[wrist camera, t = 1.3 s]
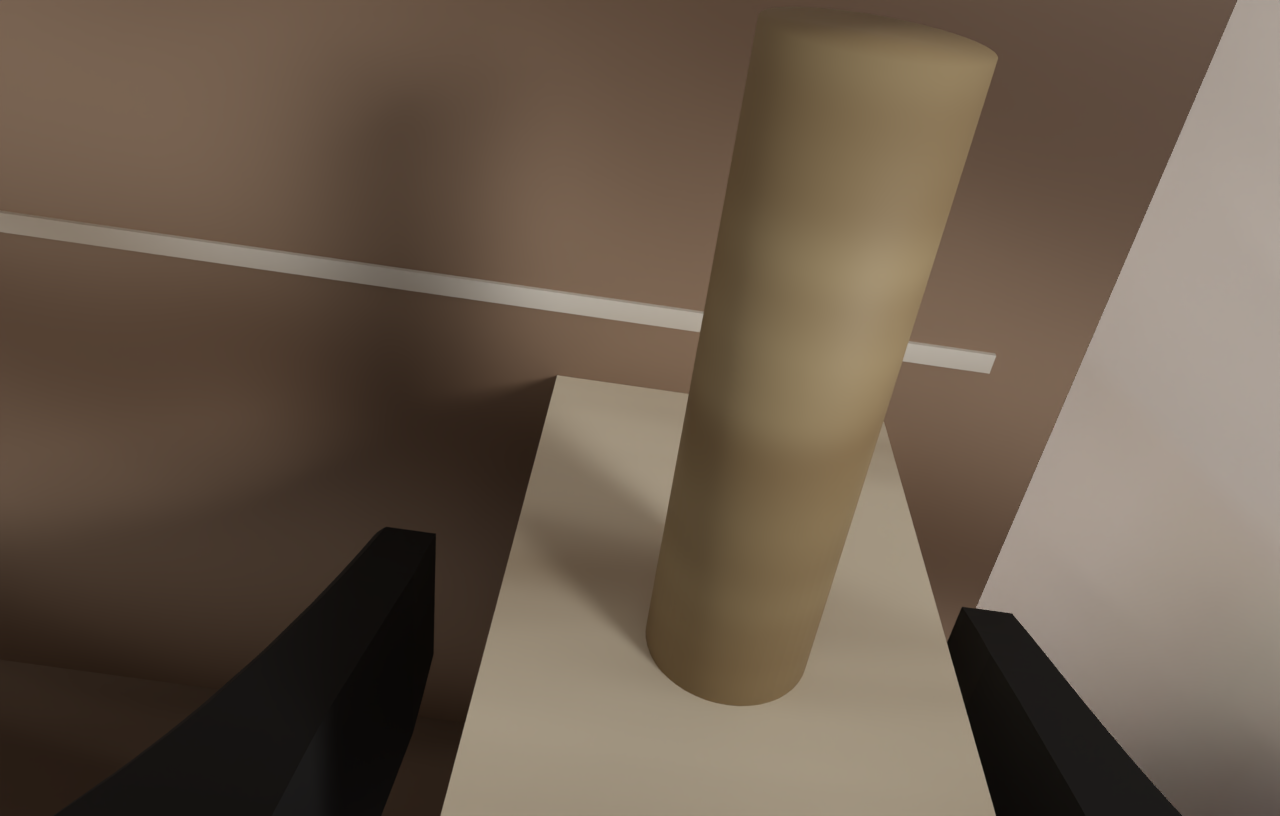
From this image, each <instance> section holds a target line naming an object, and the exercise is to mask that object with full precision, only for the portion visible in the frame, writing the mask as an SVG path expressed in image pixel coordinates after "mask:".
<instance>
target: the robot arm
mask: <svg viewBox="0 0 1280 816" xmlns="http://www.w3.org/2000/svg"><path fill="white" fill-rule="evenodd" d="M435 561H436V534H435V533H428V532H421V531H414V530H407V529H399V528H392V527H384V528H383V529H381V530H380V531H378V532H377V533H376V534H375V535H374V536H373V537H372V538H371V539H370V541H369V542H368V543H367V544H366V545H365V546H364V547H363V549H362V550H361V551H360V552H359V553H358V554H357V555H356V556H355V558H354V559H353V560H352V561H351V562H350V563H349V564H348V565H347V566H346V567H345V569H344V570H343V571H342V572H341V573H340V574H339V575H338V576H337V577H336V578H335V579H334V580H333V581H332V582H331V583H330V585H329V586H328V587H327V588H326V589H325V590H324V591H323V592H322V593H321V594H320V595H319V596H318V597H317V598H316V599H315V600H314V601H313V602H312V603H311V604H310V605H309V606H308V607H307V608H306V609H305V610H304V611H303V612H302V613H301V614H300V615H299V616H298V617H297V618H296V619H295V620H294V621H293V622H292V623H291V624H290V625H289V626H288V627H287V628H286V629H285V630H284V631H283V632H282V633H281V634H280V635H279V636H278V637H277V638H276V639H275V640H274V641H272V642H271V643H270V644H269V645H268V646H267V647H266V648H265V649H264V650H263V651H262V652H261V653H260V654H259V655H258V656H257V657H255V658H254V659H253V660H252V661H251V662H250V663H249V664H247V665H246V666H245V667H244V668H243V669H242V670H241V671H240V672H238V673H237V674H236V675H235V676H234V677H233V678H232V679H230V680H229V681H228V682H227V683H226V684H225V685H224V686H223V687H221V688H220V689H219V690H218V691H217V692H216V693H215V694H213V695H212V696H211V697H210V698H209V699H208V700H207V701H206V702H204V703H203V704H202V705H201V706H200V707H198V708H197V709H196V710H195V711H194V712H192V713H191V714H190V715H189V716H187V717H186V718H185V719H184V720H182V721H181V722H180V723H179V724H178V725H176V726H175V727H174V728H173V729H171V730H170V731H169V732H168V733H166V734H165V735H164V736H162V737H161V738H160V739H159V740H157V741H156V742H155V743H153V744H152V745H151V746H149V747H148V748H147V749H145V750H144V751H143V752H141V753H140V754H139V755H138V756H136V757H135V758H134V759H132V760H131V761H130V762H128V763H127V764H126V765H124V766H123V767H122V768H120V769H119V770H117V771H116V772H115V773H113V774H112V775H110V776H109V777H107V778H106V779H105V780H103V781H102V782H100V783H99V784H97V785H96V786H95V787H93V788H92V789H90V790H89V791H87V792H86V793H85V794H83V795H82V796H80V797H79V798H77V799H76V800H75V801H73V802H72V803H70V804H69V805H67V806H66V807H64V808H63V809H62V810H60V811H59V812H57V813H56V814H54V815H53V816H381V815H382V813H383V810H384V807H385V805H386V802H387V800H388V797H389V795H390V792H391V789H392V787H393V784H394V781H395V779H396V776H397V774H398V771H399V768H400V766H401V763H402V761H403V758H404V755H405V753H406V750H407V747H408V745H409V742H410V739H411V737H412V734H413V731H414V727H415V724H416V720H417V716H418V713H419V709H420V705H421V701H422V698H423V694H424V690H425V686H426V682H427V678H428V674H429V670H430V666H431V662H432V659H433V655H434V610H435ZM947 645H948V649H949V652H950V656H951V659H952V663H953V666H954V670H955V673H956V677H957V680H958V684H959V687H960V691H961V694H962V698H963V701H964V705H965V708H966V712H967V716H968V719H969V723H970V726H971V730H972V733H973V737H974V740H975V744H976V747H977V751H978V754H979V758H980V761H981V765H982V768H983V772H984V775H985V779H986V782H987V786H988V789H989V793H990V796H991V800H992V803H993V807H994V811H995V814H996V816H1182V815H1181V814H1180V813H1179V812H1178V811H1177V810H1176V809H1175V808H1174V807H1173V805H1172V804H1171V803H1170V802H1169V801H1168V800H1167V799H1166V798H1165V797H1164V796H1163V794H1162V793H1161V792H1160V791H1159V790H1158V789H1157V788H1156V787H1155V785H1154V784H1153V783H1152V782H1151V781H1150V780H1149V779H1148V778H1147V776H1146V775H1145V774H1144V773H1143V772H1142V771H1141V770H1140V768H1139V767H1138V766H1137V765H1136V764H1135V763H1134V761H1133V760H1132V759H1131V758H1130V757H1129V756H1128V755H1127V753H1126V752H1125V751H1124V750H1123V749H1122V747H1121V746H1120V745H1119V744H1118V743H1117V741H1116V740H1115V739H1114V738H1113V737H1112V736H1111V734H1110V733H1109V732H1108V731H1107V730H1106V728H1105V727H1104V726H1103V725H1102V724H1101V722H1100V721H1099V720H1098V719H1097V717H1096V716H1095V715H1094V714H1093V713H1092V711H1091V710H1090V709H1089V708H1088V707H1087V705H1086V704H1085V703H1084V702H1083V700H1082V699H1081V698H1080V697H1079V695H1078V694H1077V693H1076V692H1075V690H1074V689H1073V688H1072V687H1071V686H1070V684H1069V683H1068V682H1067V681H1066V679H1065V678H1064V677H1063V676H1062V674H1061V673H1060V672H1059V671H1058V669H1057V668H1056V667H1055V666H1054V664H1053V663H1052V662H1051V661H1050V659H1049V658H1048V657H1047V656H1046V654H1045V653H1044V652H1043V651H1042V649H1041V648H1040V647H1039V646H1038V645H1037V643H1036V642H1035V641H1034V640H1033V638H1032V637H1031V636H1030V635H1029V633H1028V632H1027V631H1026V630H1025V629H1024V627H1023V626H1022V625H1021V624H1020V623H1019V621H1018V620H1017V619H1016V618H1015V617H1014V616H1013V614H1011V613H1004V612H997V611H990V610H982V609H975V608H968V607H962V608H961V610H960V613H959V615H958V617H957V620H956V622H955V624H954V627H953V629H952V632H951V634H950V636H949V639H948V641H947Z"/></svg>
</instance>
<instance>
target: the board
mask: <svg viewBox="0 0 1280 816" xmlns="http://www.w3.org/2000/svg"><path fill="white" fill-rule="evenodd" d="M1236 2H1237V0H0V816H53V815H54V814H56V813H57V812H59V811H60V810H62V809H63V808H64V807H66V806H67V805H69V804H70V803H72V802H73V801H75V800H76V799H77V798H79V797H80V796H82V795H83V794H85V793H86V792H87V791H89V790H90V789H92V788H93V787H95V786H96V785H97V784H99V783H100V782H102V781H103V780H105V779H106V778H107V777H109V776H110V775H112V774H113V773H115V772H116V771H117V770H119V769H120V768H122V767H123V766H124V765H126V764H127V763H128V762H130V761H131V760H132V759H134V758H135V757H136V756H138V755H139V754H140V753H141V752H143V751H144V750H145V749H147V748H148V747H149V746H151V745H152V744H153V743H155V742H156V741H157V740H159V739H160V738H161V737H162V736H164V735H165V734H166V733H168V732H169V731H170V730H171V729H173V728H174V727H175V726H176V725H178V724H179V723H180V722H181V721H182V720H184V719H185V718H186V717H187V716H189V715H190V714H191V713H192V712H194V711H195V710H196V709H197V708H198V707H200V706H201V705H202V704H203V703H204V702H206V701H207V700H208V699H209V698H210V697H211V696H212V695H213V694H215V693H216V692H217V691H218V690H219V689H220V688H221V687H223V686H224V685H225V684H226V683H227V682H228V681H229V680H230V679H232V678H233V677H234V676H235V675H236V674H237V673H238V672H240V671H241V670H242V669H243V668H244V667H245V666H246V665H247V664H249V663H250V662H251V661H252V660H253V659H254V658H255V657H257V656H258V655H259V654H260V653H261V652H262V651H263V650H264V649H265V648H266V647H267V646H268V645H269V644H270V643H271V642H272V641H274V640H275V639H276V638H277V637H278V636H279V635H280V634H281V633H282V632H283V631H284V630H285V629H286V628H287V627H288V626H289V625H290V624H291V623H292V622H293V621H294V620H295V619H296V618H297V617H298V616H299V615H300V614H301V613H302V612H303V611H304V610H305V609H306V608H307V607H308V606H309V605H310V604H311V603H312V602H313V601H314V600H315V599H316V598H317V597H318V596H319V595H320V594H321V593H322V592H323V591H324V590H325V589H326V588H327V587H328V586H329V585H330V583H331V582H332V581H333V580H334V579H335V578H336V577H337V576H338V575H339V574H340V573H341V572H342V571H343V570H344V569H345V567H346V566H347V565H348V564H349V563H350V562H351V561H352V560H353V559H354V558H355V556H356V555H357V554H358V553H359V552H360V551H361V550H362V549H363V547H364V546H365V545H366V544H367V543H368V542H369V541H370V539H371V538H372V537H373V536H374V535H375V534H376V533H377V532H378V531H380V530H381V529H383V528H384V527H392V528H399V529H407V530H414V531H421V532H428V533H435V534H436V561H435V610H434V655H433V659H432V662H431V666H430V670H429V674H428V678H427V682H426V686H425V690H424V694H423V698H422V701H421V705H420V709H419V713H418V716H417V720H416V724H415V727H414V731H413V734H412V737H411V739H410V742H409V745H408V747H407V750H406V753H405V755H404V758H403V761H402V763H401V766H400V768H399V771H398V774H397V776H396V779H395V781H394V784H393V787H392V789H391V792H390V795H389V797H388V800H387V802H386V805H385V807H384V810H383V813H382V815H381V816H441V812H442V808H443V804H444V801H445V797H446V793H447V789H448V785H449V782H450V778H451V774H452V770H453V767H454V763H455V759H456V755H457V752H458V748H459V744H460V740H461V736H462V733H463V729H464V725H465V721H466V718H467V714H468V710H469V706H470V702H471V699H472V695H473V691H474V687H475V684H476V680H477V676H478V672H479V668H480V665H481V661H482V657H483V653H484V650H485V646H486V642H487V638H488V634H489V631H490V627H491V623H492V619H493V616H494V612H495V608H496V604H497V601H498V597H499V593H500V589H501V585H502V582H503V578H504V574H505V570H506V567H507V563H508V559H509V555H510V551H511V548H512V544H513V540H514V536H515V533H516V529H517V525H518V521H519V517H520V514H521V510H522V506H523V502H524V499H525V495H526V491H527V487H528V484H529V480H530V476H531V472H532V468H533V465H534V461H535V457H536V453H537V450H538V446H539V442H540V438H541V434H542V431H543V427H544V423H545V419H546V416H547V412H548V408H549V404H550V400H551V397H552V393H553V389H554V385H555V382H556V378H557V375H559V376H566V377H573V378H580V379H587V380H594V381H601V382H608V383H615V384H622V385H629V386H636V387H643V388H650V389H657V390H664V391H671V392H678V393H685V394H689V390H690V384H691V379H692V373H693V368H694V363H695V357H696V352H697V346H698V341H699V335H700V330H701V324H702V319H703V313H704V308H705V303H706V297H707V292H708V286H709V281H710V275H711V270H712V264H713V259H714V253H715V248H716V243H717V237H718V232H719V226H720V221H721V215H722V210H723V204H724V199H725V193H726V188H727V183H728V177H729V172H730V166H731V161H732V155H733V150H734V144H735V139H736V133H737V128H738V123H739V117H740V112H741V106H742V101H743V95H744V90H745V84H746V79H747V73H748V68H749V63H750V57H751V52H752V46H753V41H754V35H755V30H756V24H757V19H758V14H759V13H760V12H761V11H763V10H766V9H770V8H776V7H816V8H828V9H838V10H847V11H854V12H861V13H867V14H873V15H879V16H885V17H890V18H895V19H900V20H905V21H909V22H913V23H918V24H922V25H926V26H930V27H933V28H937V29H941V30H944V31H947V32H951V33H954V34H957V35H960V36H963V37H966V38H968V39H971V40H973V41H976V42H978V43H980V44H982V45H984V46H986V47H988V48H990V49H991V50H992V51H994V52H995V53H996V54H997V56H998V60H997V64H996V67H995V70H994V73H993V76H992V79H991V83H990V86H989V89H988V92H987V95H986V98H985V102H984V105H983V108H982V111H981V114H980V117H979V121H978V124H977V127H976V130H975V133H974V136H973V140H972V143H971V146H970V149H969V152H968V155H967V159H966V162H965V165H964V168H963V171H962V174H961V177H960V181H959V184H958V187H957V190H956V193H955V196H954V200H953V203H952V206H951V209H950V212H949V215H948V219H947V222H946V225H945V228H944V231H943V234H942V238H941V241H940V244H939V247H938V250H937V253H936V257H935V260H934V263H933V266H932V269H931V272H930V276H929V279H928V282H927V285H926V288H925V291H924V295H923V298H922V301H921V304H920V307H919V310H918V314H917V317H916V320H915V323H914V326H913V329H912V333H911V336H910V339H909V342H908V345H907V348H906V352H905V355H904V358H903V361H902V364H901V367H900V371H899V374H898V377H897V380H896V383H895V386H894V390H893V393H892V396H891V399H890V402H889V405H888V409H887V412H886V415H885V418H884V421H883V422H884V423H885V427H886V431H887V434H888V438H889V441H890V445H891V448H892V452H893V455H894V459H895V462H896V466H897V469H898V473H899V476H900V480H901V483H902V487H903V490H904V494H905V497H906V501H907V504H908V508H909V511H910V515H911V518H912V522H913V526H914V529H915V533H916V536H917V540H918V543H919V547H920V550H921V554H922V557H923V561H924V564H925V568H926V571H927V575H928V578H929V582H930V585H931V589H932V592H933V596H934V599H935V603H936V606H937V610H938V613H939V617H940V621H941V624H942V628H943V631H944V635H945V638H946V642H947V641H948V639H949V636H950V634H951V632H952V629H953V627H954V624H955V622H956V620H957V617H958V615H959V613H960V610H961V608H962V607H968V608H976V606H977V604H978V602H979V599H980V597H981V595H982V592H983V590H984V588H985V585H986V583H987V581H988V578H989V576H990V574H991V571H992V569H993V567H994V564H995V562H996V560H997V557H998V555H999V553H1000V550H1001V548H1002V546H1003V543H1004V541H1005V539H1006V536H1007V534H1008V532H1009V530H1010V527H1011V525H1012V523H1013V520H1014V518H1015V516H1016V513H1017V511H1018V509H1019V506H1020V504H1021V502H1022V499H1023V497H1024V495H1025V492H1026V490H1027V488H1028V485H1029V483H1030V481H1031V478H1032V476H1033V474H1034V471H1035V469H1036V467H1037V464H1038V462H1039V460H1040V457H1041V455H1042V453H1043V451H1044V448H1045V446H1046V444H1047V441H1048V439H1049V437H1050V434H1051V432H1052V430H1053V427H1054V425H1055V423H1056V420H1057V418H1058V416H1059V413H1060V411H1061V409H1062V406H1063V404H1064V402H1065V399H1066V397H1067V395H1068V392H1069V390H1070V388H1071V385H1072V383H1073V381H1074V379H1075V376H1076V374H1077V372H1078V369H1079V367H1080V365H1081V362H1082V360H1083V358H1084V355H1085V353H1086V351H1087V348H1088V346H1089V344H1090V341H1091V339H1092V337H1093V334H1094V332H1095V330H1096V327H1097V325H1098V323H1099V320H1100V318H1101V316H1102V313H1103V311H1104V309H1105V307H1106V304H1107V302H1108V300H1109V297H1110V295H1111V293H1112V290H1113V288H1114V286H1115V283H1116V281H1117V279H1118V276H1119V274H1120V272H1121V269H1122V267H1123V265H1124V262H1125V260H1126V258H1127V255H1128V253H1129V251H1130V248H1131V246H1132V244H1133V241H1134V239H1135V237H1136V234H1137V232H1138V230H1139V228H1140V225H1141V223H1142V221H1143V218H1144V216H1145V214H1146V211H1147V209H1148V207H1149V204H1150V202H1151V200H1152V197H1153V195H1154V193H1155V190H1156V188H1157V186H1158V183H1159V181H1160V179H1161V176H1162V174H1163V172H1164V169H1165V167H1166V165H1167V162H1168V160H1169V158H1170V156H1171V153H1172V151H1173V149H1174V146H1175V144H1176V142H1177V139H1178V137H1179V135H1180V132H1181V130H1182V128H1183V125H1184V123H1185V121H1186V118H1187V116H1188V114H1189V111H1190V109H1191V107H1192V104H1193V102H1194V100H1195V97H1196V95H1197V93H1198V90H1199V88H1200V86H1201V84H1202V81H1203V79H1204V77H1205V74H1206V72H1207V70H1208V67H1209V65H1210V63H1211V60H1212V58H1213V56H1214V53H1215V51H1216V49H1217V46H1218V44H1219V42H1220V39H1221V37H1222V35H1223V32H1224V30H1225V28H1226V25H1227V23H1228V21H1229V18H1230V16H1231V14H1232V12H1233V9H1234V7H1235V5H1236Z"/></svg>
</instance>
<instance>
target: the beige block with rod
mask: <svg viewBox="0 0 1280 816" xmlns="http://www.w3.org/2000/svg"><path fill="white" fill-rule="evenodd" d="M997 60H998V56H997V54H996V53H995V52H994V51H992V50H991V49H990V48H988V47H986V46H984V45H982V44H980V43H978V42H976V41H973V40H971V39H968V38H966V37H963V36H960V35H957V34H954V33H951V32H947V31H944V30H941V29H937V28H933V27H930V26H926V25H922V24H918V23H913V22H909V21H905V20H900V19H895V18H890V17H885V16H879V15H873V14H867V13H861V12H854V11H847V10H838V9H828V8H816V7H776V8H770V9H766V10H763V11H761V12H760V13H759V14H758V19H757V24H756V30H755V35H754V41H753V46H752V52H751V57H750V63H749V68H748V73H747V79H746V84H745V90H744V95H743V101H742V106H741V112H740V117H739V123H738V128H737V133H736V139H735V144H734V150H733V155H732V161H731V166H730V172H729V177H728V183H727V188H726V193H725V199H724V204H723V210H722V215H721V221H720V226H719V232H718V237H717V243H716V248H715V253H714V259H713V264H712V270H711V275H710V281H709V286H708V292H707V297H706V303H705V308H704V313H703V319H702V324H701V330H700V335H699V341H698V346H697V352H696V357H695V363H694V368H693V373H692V379H691V384H690V390H689V394H685V393H678V392H671V391H664V390H657V389H650V388H643V387H636V386H629V385H622V384H615V383H608V382H601V381H594V380H587V379H580V378H573V377H566V376H559V375H557V378H556V382H555V385H554V389H553V393H552V397H551V400H550V404H549V408H548V412H547V416H546V419H545V423H544V427H543V431H542V434H541V438H540V442H539V446H538V450H537V453H536V457H535V461H534V465H533V468H532V472H531V476H530V480H529V484H528V487H527V491H526V495H525V499H524V502H523V506H522V510H521V514H520V517H519V521H518V525H517V529H516V533H515V536H514V540H513V544H512V548H511V551H510V555H509V559H508V563H507V567H506V570H505V574H504V578H503V582H502V585H501V589H500V593H499V597H498V601H497V604H496V608H495V612H494V616H493V619H492V623H491V627H490V631H489V634H488V638H487V642H486V646H485V650H484V653H483V657H482V661H481V665H480V668H479V672H478V676H477V680H476V684H475V687H474V691H473V695H472V699H471V702H470V706H469V710H468V714H467V718H466V721H465V725H464V729H463V733H462V736H461V740H460V744H459V748H458V752H457V755H456V759H455V763H454V767H453V770H452V774H451V778H450V782H449V785H448V789H447V793H446V797H445V801H444V804H443V808H442V812H441V816H996V814H995V811H994V807H993V803H992V800H991V796H990V793H989V789H988V786H987V782H986V779H985V775H984V772H983V768H982V765H981V761H980V758H979V754H978V751H977V747H976V744H975V740H974V737H973V733H972V730H971V726H970V723H969V719H968V716H967V712H966V708H965V705H964V701H963V698H962V694H961V691H960V687H959V684H958V680H957V677H956V673H955V670H954V666H953V663H952V659H951V656H950V652H949V649H948V645H947V642H946V638H945V635H944V631H943V628H942V624H941V621H940V617H939V613H938V610H937V606H936V603H935V599H934V596H933V592H932V589H931V585H930V582H929V578H928V575H927V571H926V568H925V564H924V561H923V557H922V554H921V550H920V547H919V543H918V540H917V536H916V533H915V529H914V526H913V522H912V518H911V515H910V511H909V508H908V504H907V501H906V497H905V494H904V490H903V487H902V483H901V480H900V476H899V473H898V469H897V466H896V462H895V459H894V455H893V452H892V448H891V445H890V441H889V438H888V434H887V431H886V427H885V423H884V422H883V421H884V418H885V415H886V412H887V409H888V405H889V402H890V399H891V396H892V393H893V390H894V386H895V383H896V380H897V377H898V374H899V371H900V367H901V364H902V361H903V358H904V355H905V352H906V348H907V345H908V342H909V339H910V336H911V333H912V329H913V326H914V323H915V320H916V317H917V314H918V310H919V307H920V304H921V301H922V298H923V295H924V291H925V288H926V285H927V282H928V279H929V276H930V272H931V269H932V266H933V263H934V260H935V257H936V253H937V250H938V247H939V244H940V241H941V238H942V234H943V231H944V228H945V225H946V222H947V219H948V215H949V212H950V209H951V206H952V203H953V200H954V196H955V193H956V190H957V187H958V184H959V181H960V177H961V174H962V171H963V168H964V165H965V162H966V159H967V155H968V152H969V149H970V146H971V143H972V140H973V136H974V133H975V130H976V127H977V124H978V121H979V117H980V114H981V111H982V108H983V105H984V102H985V98H986V95H987V92H988V89H989V86H990V83H991V79H992V76H993V73H994V70H995V67H996V64H997Z"/></svg>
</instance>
